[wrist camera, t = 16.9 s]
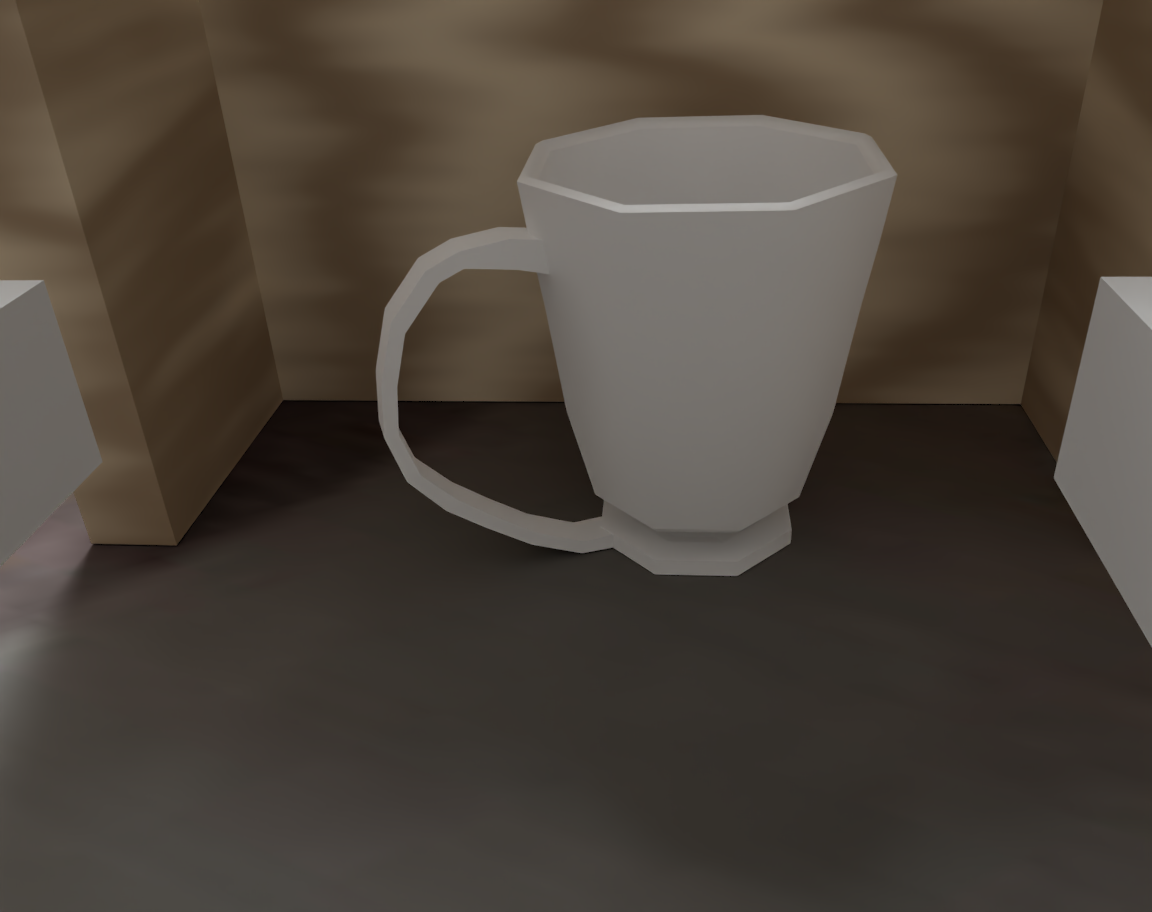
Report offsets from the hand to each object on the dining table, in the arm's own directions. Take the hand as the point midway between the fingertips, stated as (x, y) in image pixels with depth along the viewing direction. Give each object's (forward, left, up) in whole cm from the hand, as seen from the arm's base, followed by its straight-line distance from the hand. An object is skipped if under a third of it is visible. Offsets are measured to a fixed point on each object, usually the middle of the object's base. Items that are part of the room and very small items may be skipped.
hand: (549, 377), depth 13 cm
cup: (-1, -7, -7) cm, 10 cm away
